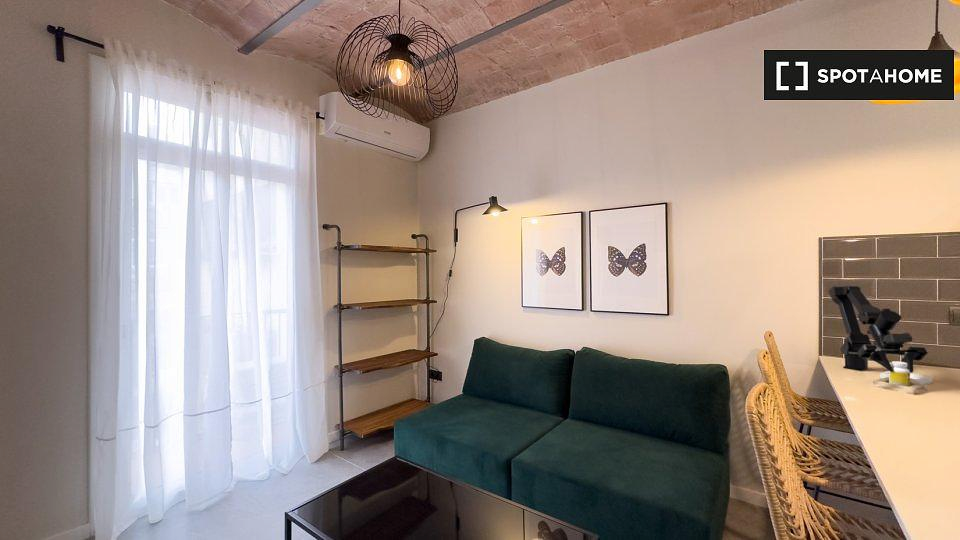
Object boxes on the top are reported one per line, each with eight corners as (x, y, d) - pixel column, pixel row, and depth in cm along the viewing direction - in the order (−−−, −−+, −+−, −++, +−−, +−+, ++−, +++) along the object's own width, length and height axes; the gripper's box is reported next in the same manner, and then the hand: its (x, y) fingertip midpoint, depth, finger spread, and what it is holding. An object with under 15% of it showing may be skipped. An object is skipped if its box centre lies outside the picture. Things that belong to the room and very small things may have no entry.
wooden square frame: (872, 386, 150) (872, 381, 150) (886, 382, 154) (886, 377, 154) (913, 394, 140) (913, 389, 140) (927, 390, 144) (927, 384, 144)
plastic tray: (880, 379, 158) (880, 373, 158) (893, 375, 162) (893, 369, 162) (919, 386, 148) (919, 380, 148) (932, 382, 152) (931, 376, 152)
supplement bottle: (912, 391, 143) (911, 364, 143) (890, 388, 146) (890, 362, 146) (908, 387, 147) (907, 361, 147) (887, 385, 151) (887, 359, 150)
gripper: (861, 324, 153) (879, 358, 143) (924, 325, 147) (947, 361, 137) (850, 340, 161) (866, 374, 151) (909, 342, 155) (930, 377, 144)
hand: (901, 371), depth 145 cm, fingers closed on supplement bottle, 5 cm apart
